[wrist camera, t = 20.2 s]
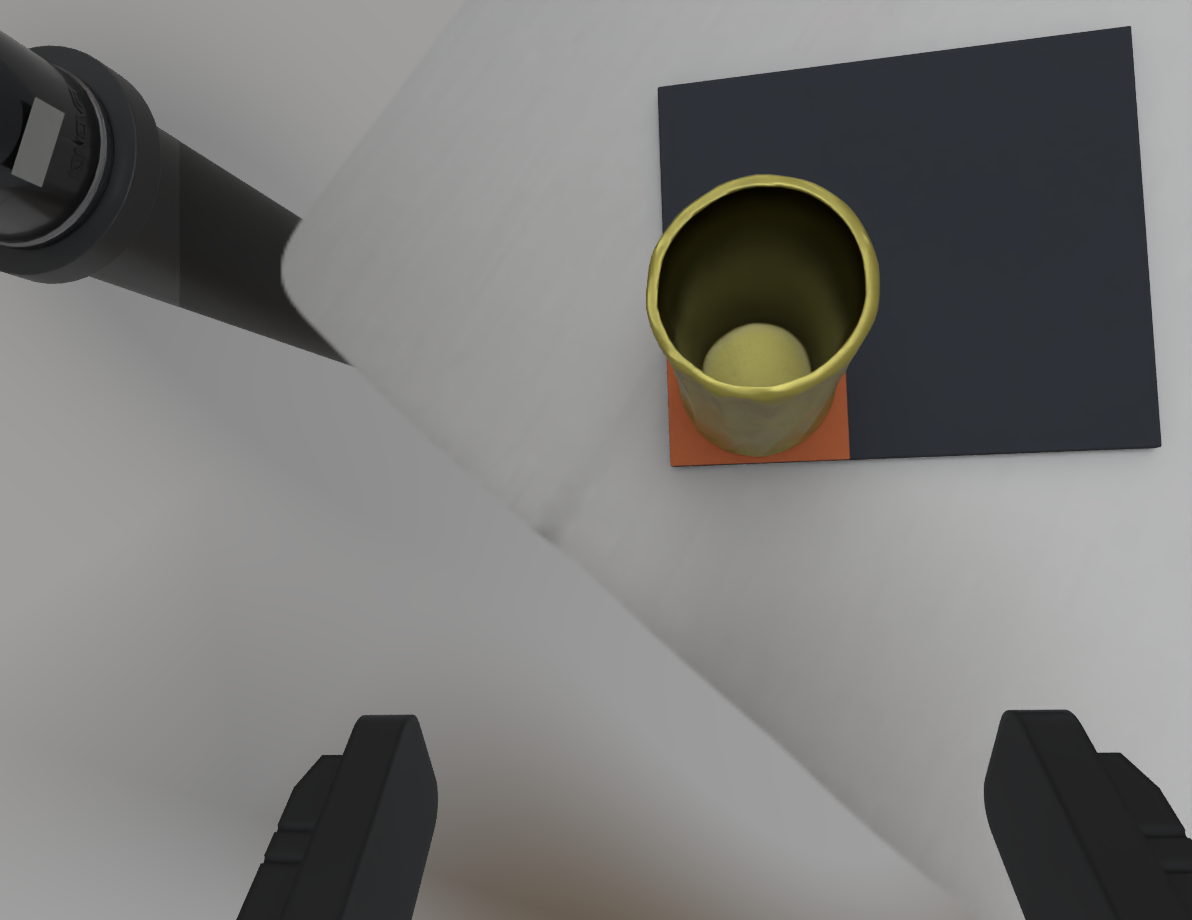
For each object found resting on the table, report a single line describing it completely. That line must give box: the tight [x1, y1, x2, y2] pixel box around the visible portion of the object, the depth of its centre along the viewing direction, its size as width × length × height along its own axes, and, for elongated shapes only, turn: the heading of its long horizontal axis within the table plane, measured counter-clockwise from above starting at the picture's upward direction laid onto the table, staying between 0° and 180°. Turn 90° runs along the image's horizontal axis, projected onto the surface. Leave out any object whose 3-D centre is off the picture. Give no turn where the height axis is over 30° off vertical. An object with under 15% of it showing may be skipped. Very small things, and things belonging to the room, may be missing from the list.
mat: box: [658, 26, 1161, 467], centre depth 32 cm, size 18×16×1 cm
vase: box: [646, 174, 880, 457], centre depth 25 cm, size 6×6×14 cm
